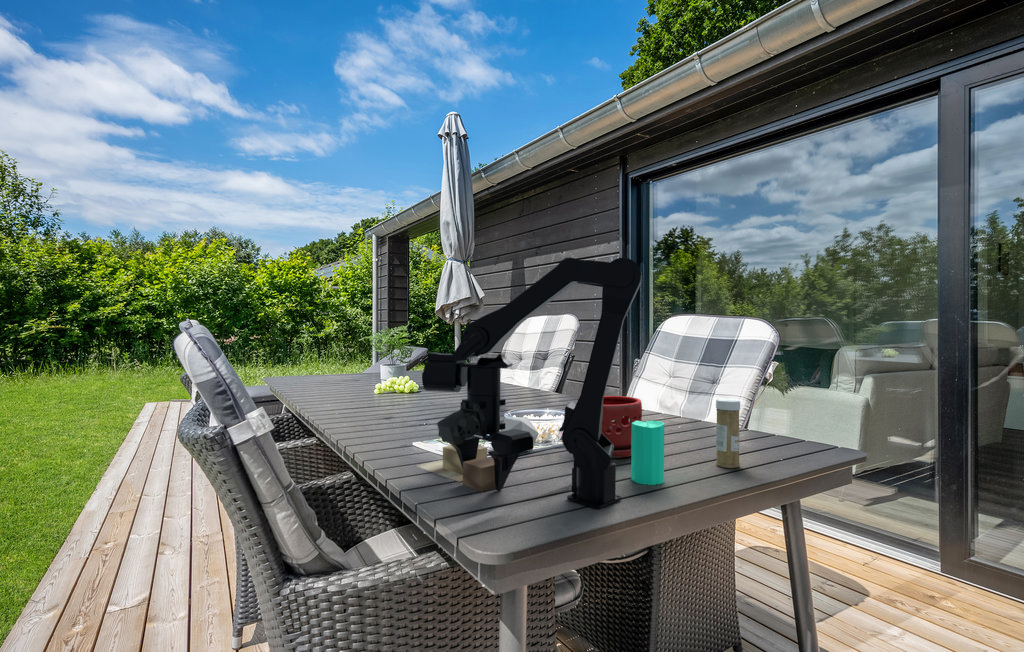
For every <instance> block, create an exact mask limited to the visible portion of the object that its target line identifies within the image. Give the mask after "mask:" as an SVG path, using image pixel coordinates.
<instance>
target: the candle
mask: <svg viewBox="0 0 1024 652" xmlns="http://www.w3.org/2000/svg"><path fill="white" fill-rule="evenodd" d="M630 457H631V458H630V459H631V463H630V464H631V465H630V466H631V467H630V475H631V476H630V481H633V482H634V483H637V484H641V485H646V484H648V485H647V486H649V485H650V486H654V485H656V484H657V485H661V484H663V483H665V422H663V421H660V420H646V421H642V420H641V421H635V422H633V423H632V436H631V456H630ZM657 485H656V486H657Z"/></svg>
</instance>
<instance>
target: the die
mask: <svg viewBox="0 0 1024 652" xmlns="http://www.w3.org/2000/svg"><path fill="white" fill-rule="evenodd" d="M502 423H505V429H503V430H500V432H502V431H507V430H512V429H518V430H522V431H527V432H530V434H531V435H532V436H533V449H531V450H527V451H526V452H530V451H533V450H534V446H535V444H536V441H537V440H538V436H539V434H540V432H539V431H538V430H537V429H536V427H535V426H534V425H533V423H532V422H531V420H530V419H529V418H528V416H519V417H516V416H515V417H504V420H503V422H502Z"/></svg>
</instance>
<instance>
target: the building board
mask: <svg viewBox="0 0 1024 652" xmlns="http://www.w3.org/2000/svg"><path fill="white" fill-rule="evenodd" d="M415 467H417V468H418V469H422V470H425V471H427V472H430V473H433V474H435V475H439V476H441V477H444V478H447V479H450V480H453V481H456V482H458V483H463V475H462V474H459V473H456V472H453V471H450V470H447V469H444V468H443V458H442V459H438V460H434V461H430V462H425V463H421V464H420V463H419V464H416V465H415Z"/></svg>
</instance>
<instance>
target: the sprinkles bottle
mask: <svg viewBox="0 0 1024 652" xmlns="http://www.w3.org/2000/svg"><path fill="white" fill-rule="evenodd" d="M715 408H716V410H715V411H716V431H715V433H716V434H715V436H716V439H715V443H716V446H715V447H716V460H715V465H717V466H718V467H721V468H725V469H737V468H739V467H740V465H741V463H740V410H741V401H740V399H735V398H728V397H725V398H724V397H723V398H722V397H721V398H716V400H715Z"/></svg>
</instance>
